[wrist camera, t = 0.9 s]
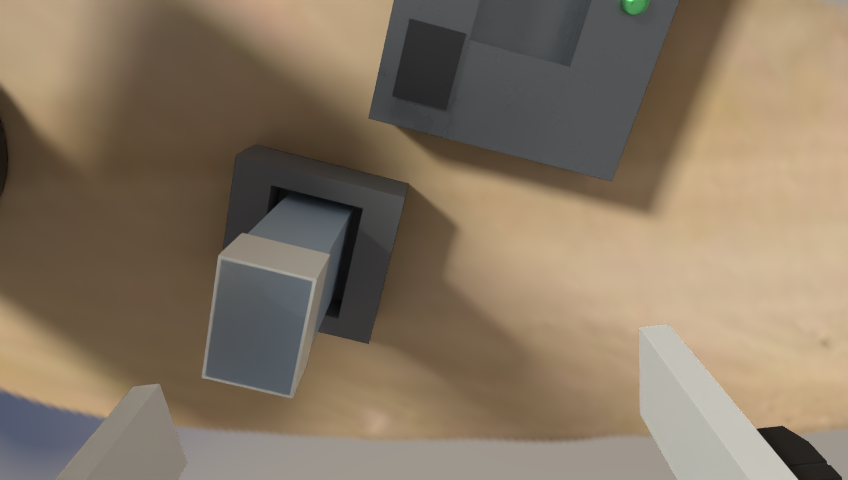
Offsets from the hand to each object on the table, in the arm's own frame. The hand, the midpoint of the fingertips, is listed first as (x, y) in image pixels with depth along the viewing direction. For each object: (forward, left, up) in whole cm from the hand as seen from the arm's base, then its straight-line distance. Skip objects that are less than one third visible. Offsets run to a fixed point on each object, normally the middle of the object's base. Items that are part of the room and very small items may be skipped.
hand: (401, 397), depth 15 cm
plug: (-6, -5, -21) cm, 22 cm away
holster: (-6, -5, -22) cm, 23 cm away
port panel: (+3, +13, -22) cm, 26 cm away
